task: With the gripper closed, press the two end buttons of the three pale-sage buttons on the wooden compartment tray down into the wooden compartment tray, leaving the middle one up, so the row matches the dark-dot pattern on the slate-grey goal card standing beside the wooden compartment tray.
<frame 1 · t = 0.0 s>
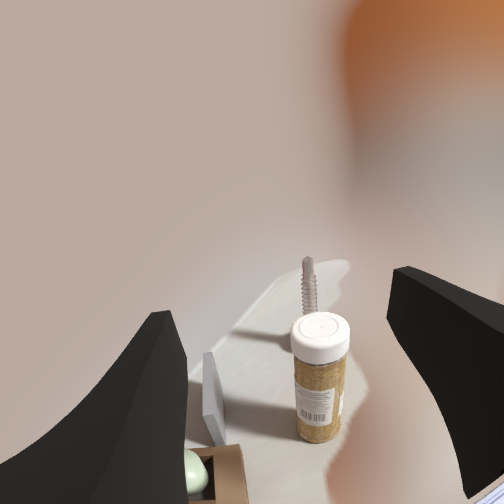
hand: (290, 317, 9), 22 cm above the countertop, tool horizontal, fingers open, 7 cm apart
screw: (311, 344, 40), on the countertop
goal card: (219, 416, 30), on the countertop
button 1: (182, 472, 20), point 3 cm above the countertop, slide at 0.0 cm
sprinkles bottle: (318, 428, 27), on the countertop
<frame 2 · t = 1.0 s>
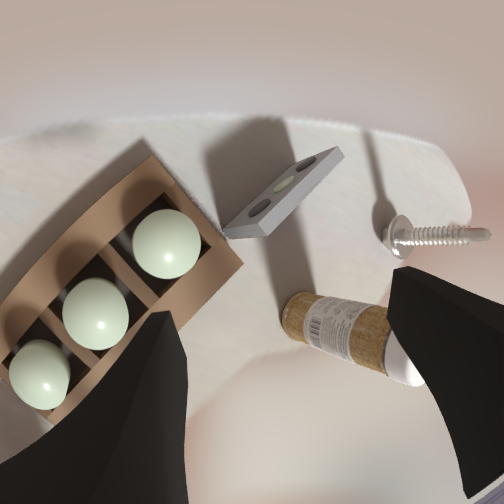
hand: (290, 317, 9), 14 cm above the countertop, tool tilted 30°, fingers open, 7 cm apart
screw: (387, 237, 32), on the countertop
goal card: (263, 198, 25), on the countertop
button mid: (96, 312, 16), point 3 cm above the countertop, slide at 0.0 cm
button 1: (164, 244, 18), point 3 cm above the countertop, slide at 0.0 cm
wooden compartment tray: (98, 303, 19), on the countertop
button 2: (40, 373, 14), point 3 cm above the countertop, slide at 0.0 cm
sprinkles bottle: (299, 315, 27), on the countertop
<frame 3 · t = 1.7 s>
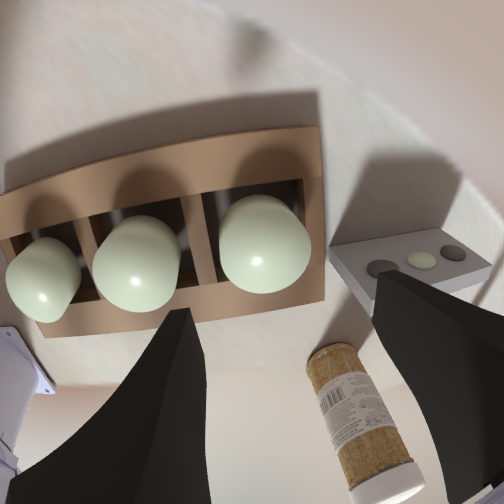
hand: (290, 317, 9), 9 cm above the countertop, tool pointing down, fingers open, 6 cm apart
goal card: (389, 242, 19), on the countertop
button mid: (138, 263, 14), point 3 cm above the countertop, slide at 0.0 cm
button 1: (262, 242, 14), point 3 cm above the countertop, slide at 0.0 cm
wooden compartment tray: (150, 237, 17), on the countertop
button 2: (43, 279, 13), point 3 cm above the countertop, slide at 0.0 cm
sprinkles bottle: (330, 358, 23), on the countertop
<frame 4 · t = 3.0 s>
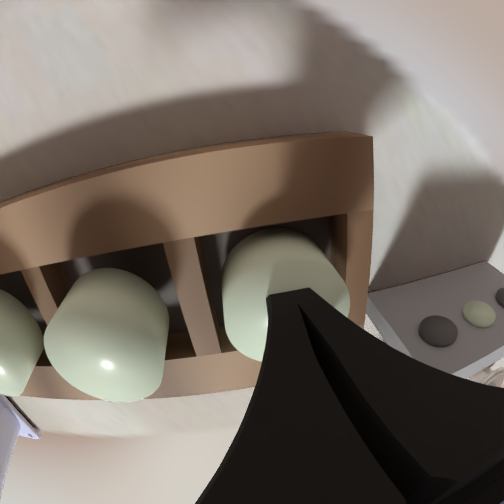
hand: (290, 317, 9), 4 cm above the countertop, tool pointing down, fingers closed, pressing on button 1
screw: (475, 373, 21), on the countertop
goal card: (434, 283, 14), on the countertop
button mid: (109, 337, 9), point 3 cm above the countertop, slide at 0.0 cm
button 1: (281, 296, 10), point 2 cm above the countertop, slide at 0.9 cm, touching gripper
wooden compartment tray: (128, 287, 12), on the countertop
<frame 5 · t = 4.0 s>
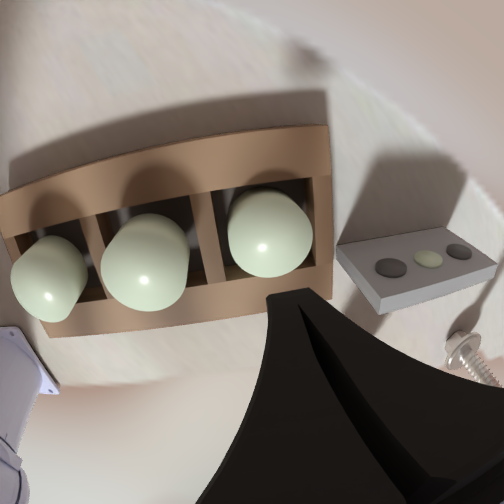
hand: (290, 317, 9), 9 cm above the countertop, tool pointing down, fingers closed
screw: (453, 338, 25), on the countertop
goal card: (395, 241, 19), on the countertop
button mid: (147, 261, 14), point 3 cm above the countertop, slide at 0.0 cm
button 1: (267, 230, 15), point 2 cm above the countertop, slide at 1.3 cm
wooden compartment tray: (157, 235, 17), on the countertop
button 2: (49, 278, 13), point 3 cm above the countertop, slide at 0.0 cm
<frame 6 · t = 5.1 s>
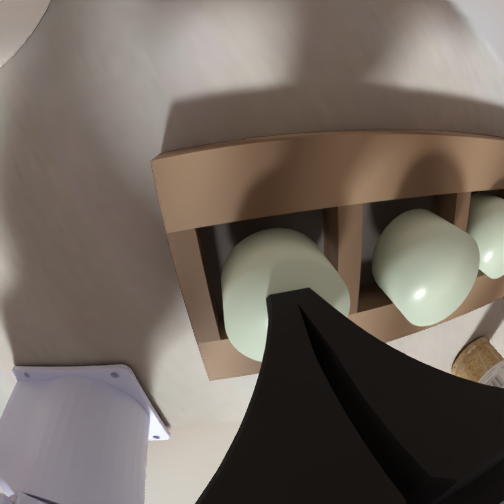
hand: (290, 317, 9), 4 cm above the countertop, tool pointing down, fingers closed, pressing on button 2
button mid: (427, 266, 11), point 3 cm above the countertop, slide at 0.0 cm
button 1: (492, 234, 12), point 2 cm above the countertop, slide at 1.3 cm
wooden compartment tray: (388, 235, 13), on the countertop
button 2: (281, 296, 10), point 3 cm above the countertop, slide at 0.1 cm, touching gripper
sprinkles bottle: (468, 353, 20), on the countertop
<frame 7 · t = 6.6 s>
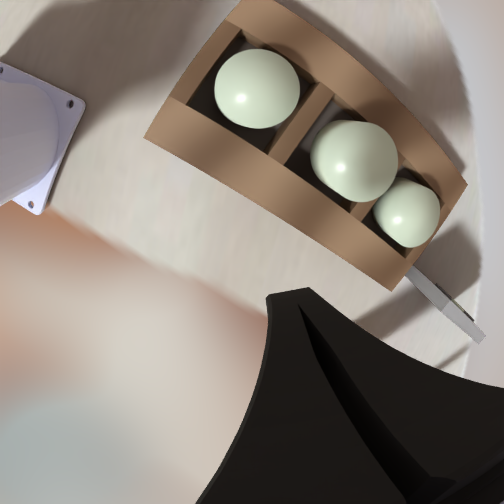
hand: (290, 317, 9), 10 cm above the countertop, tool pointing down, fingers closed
goal card: (427, 285, 23), on the countertop
button mid: (353, 158, 14), point 3 cm above the countertop, slide at 0.0 cm
button 1: (406, 211, 18), point 2 cm above the countertop, slide at 1.3 cm
wooden compartment tray: (330, 150, 17), on the countertop
button 2: (254, 90, 14), point 2 cm above the countertop, slide at 1.3 cm
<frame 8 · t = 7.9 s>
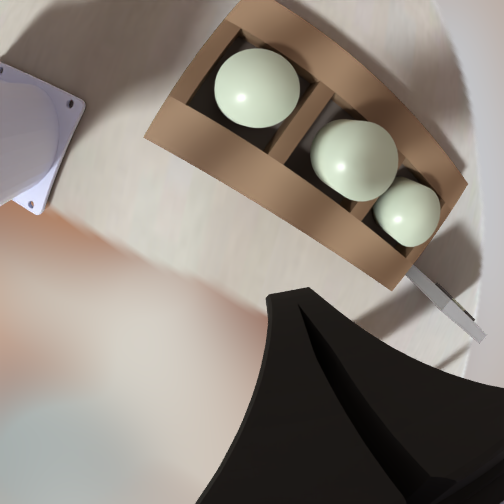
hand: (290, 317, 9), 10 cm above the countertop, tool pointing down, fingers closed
goal card: (428, 285, 23), on the countertop
button mid: (353, 157, 14), point 3 cm above the countertop, slide at 0.0 cm
button 1: (406, 210, 18), point 2 cm above the countertop, slide at 1.3 cm
wooden compartment tray: (331, 149, 17), on the countertop
button 2: (254, 89, 14), point 2 cm above the countertop, slide at 1.3 cm
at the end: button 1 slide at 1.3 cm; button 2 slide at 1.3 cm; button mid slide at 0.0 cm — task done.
